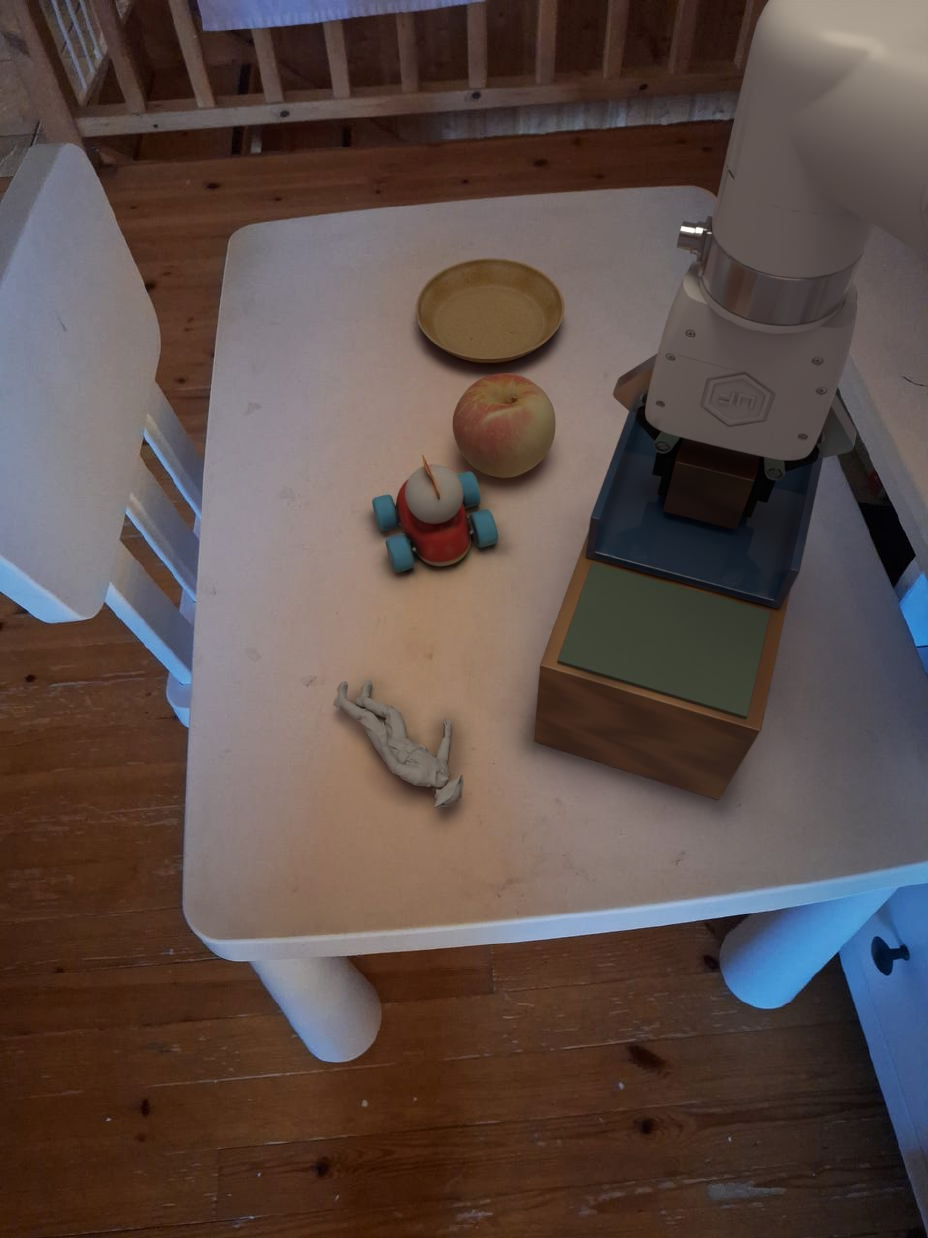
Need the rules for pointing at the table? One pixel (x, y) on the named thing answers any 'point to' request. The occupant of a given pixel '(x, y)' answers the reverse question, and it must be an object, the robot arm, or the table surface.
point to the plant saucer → (489, 309)
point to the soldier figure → (403, 746)
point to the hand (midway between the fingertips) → (708, 489)
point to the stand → (647, 710)
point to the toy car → (434, 518)
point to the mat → (666, 639)
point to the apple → (504, 425)
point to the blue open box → (700, 529)
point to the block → (711, 483)
